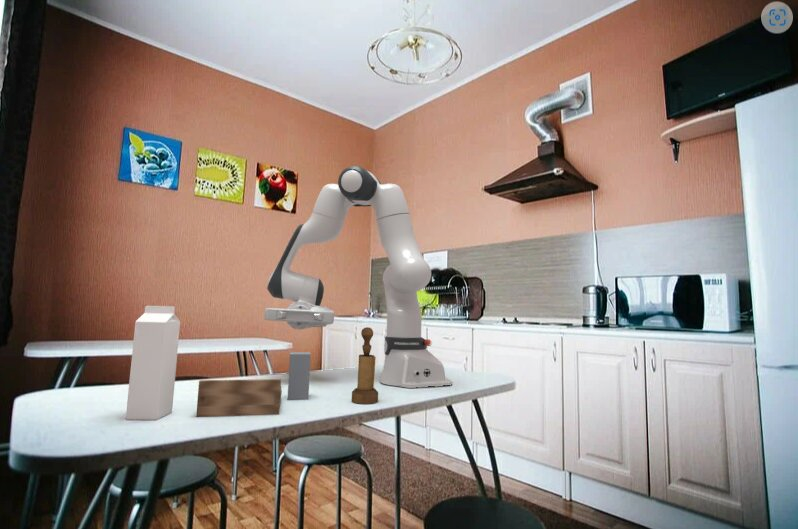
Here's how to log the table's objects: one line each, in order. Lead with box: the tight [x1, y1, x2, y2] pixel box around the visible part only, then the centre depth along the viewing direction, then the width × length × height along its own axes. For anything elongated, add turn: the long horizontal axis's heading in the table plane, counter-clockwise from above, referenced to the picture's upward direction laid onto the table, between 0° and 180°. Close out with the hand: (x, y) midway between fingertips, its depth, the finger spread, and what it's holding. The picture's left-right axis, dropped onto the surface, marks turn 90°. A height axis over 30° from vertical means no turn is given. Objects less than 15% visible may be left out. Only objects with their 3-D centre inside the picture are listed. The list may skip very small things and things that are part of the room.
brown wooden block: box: [195, 378, 283, 418], centre depth 92 cm, size 16×16×7 cm
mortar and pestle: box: [351, 327, 379, 405], centre depth 101 cm, size 7×6×18 cm
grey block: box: [287, 351, 312, 401], centre depth 103 cm, size 5×5×11 cm
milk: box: [125, 305, 181, 421], centre depth 83 cm, size 6×6×22 cm
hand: (300, 316), depth 116 cm, fingers open, 8 cm apart
